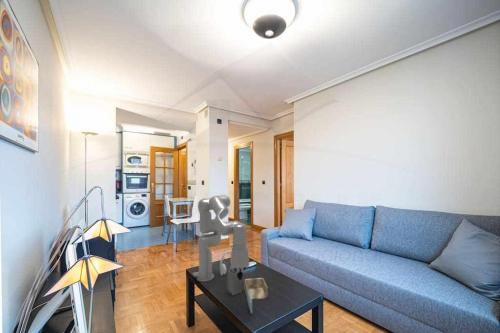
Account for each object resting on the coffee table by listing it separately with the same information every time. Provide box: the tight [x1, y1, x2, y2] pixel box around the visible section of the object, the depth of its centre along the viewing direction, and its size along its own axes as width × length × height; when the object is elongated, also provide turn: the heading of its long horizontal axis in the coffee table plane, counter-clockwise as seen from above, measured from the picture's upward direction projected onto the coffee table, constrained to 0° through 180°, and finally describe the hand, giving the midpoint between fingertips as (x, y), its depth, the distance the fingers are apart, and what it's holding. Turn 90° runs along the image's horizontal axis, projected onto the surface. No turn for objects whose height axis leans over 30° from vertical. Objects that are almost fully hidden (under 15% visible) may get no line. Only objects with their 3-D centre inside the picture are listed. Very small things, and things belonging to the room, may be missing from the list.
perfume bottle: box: [227, 266, 243, 296], centre depth 143 cm, size 7×7×18 cm
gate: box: [246, 290, 253, 315], centre depth 126 cm, size 13×1×6 cm, turn 9°
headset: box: [219, 249, 241, 276], centre depth 169 cm, size 20×7×18 cm, turn 125°
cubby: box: [243, 277, 269, 301], centre depth 140 cm, size 13×12×7 cm
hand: (239, 278), depth 122 cm, fingers closed
